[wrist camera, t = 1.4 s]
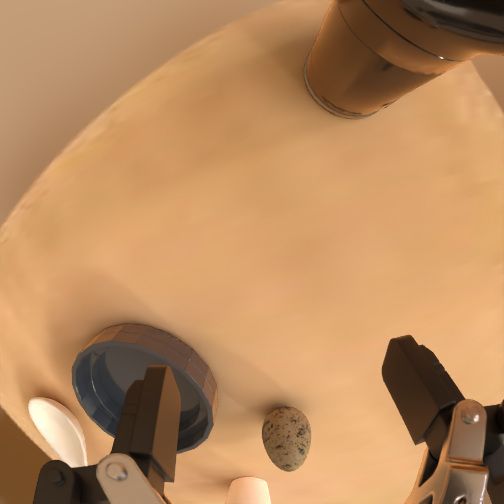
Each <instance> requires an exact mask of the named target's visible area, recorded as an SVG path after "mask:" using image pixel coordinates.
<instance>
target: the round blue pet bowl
mask: <svg viewBox="0 0 504 504" xmlns="http://www.w3.org/2000/svg"><path fill="white" fill-rule="evenodd" d="M152 365H169V366H170V368H171V370H172V373H173V376H174V379H175V381H176V384H177V387H178V389H179V392H180V397H181V411H180V420H179V430H178V441H177V452H176V454H179V453H183V452H186V451H189V450H192V449H195V448H196V447H198V446H199V445H200V444H201V443H203V442H204V441H205V440H206V439H207V438H208V436H209V434H210V432H211V430H212V427H213V425H214V419H215V413H216V407H217V386H216V383H215V380H214V378H213V376H212V374H211V372H210V369H209V367H208V366H207V365H206V364H205V363H204V361H203V360H202V359H201V358H200V357H199V356H198V355H197V353H196V352H195V351H194V350H193V349H192V348H190V347H189V346H187V345H186V344H184V343H183V342H182V341H180V340H179V339H177V338H176V337H174V336H173V335H171V334H168V333H166V332H163V331H160V330H158V329H155V328H153V327H150V326H144V325H135V324H122V325H118V326H113V327H109V328H107V329H105V330H104V331H102V332H101V333H100V334H98V335H97V336H96V337H94V338H93V339H92V340H91V341H90V343H89V344H88V345H87V346H86V347H85V348H84V349H83V350H82V351H81V352H80V353H79V354H78V356H77V358H76V360H75V362H74V364H73V367H72V385H73V388H74V391H75V394H76V396H77V399H78V401H79V403H80V405H81V406H82V408H83V409H84V410H85V412H86V413H87V415H88V416H89V417H90V418H91V419H92V420H93V421H94V422H95V423H96V424H97V425H98V426H99V427H100V428H101V429H102V430H103V431H104V432H106V433H107V434H109V435H110V436H112V437H113V438H115V435H116V431H117V427H118V423H119V419H120V415H121V414H122V412H121V411H122V408H123V405H124V400H125V397H126V393H127V390H128V389H129V387H130V386H131V385H132V384H133V382H134V381H135V380H144V377H145V373H146V369H147V367H148V366H152Z"/></svg>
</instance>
